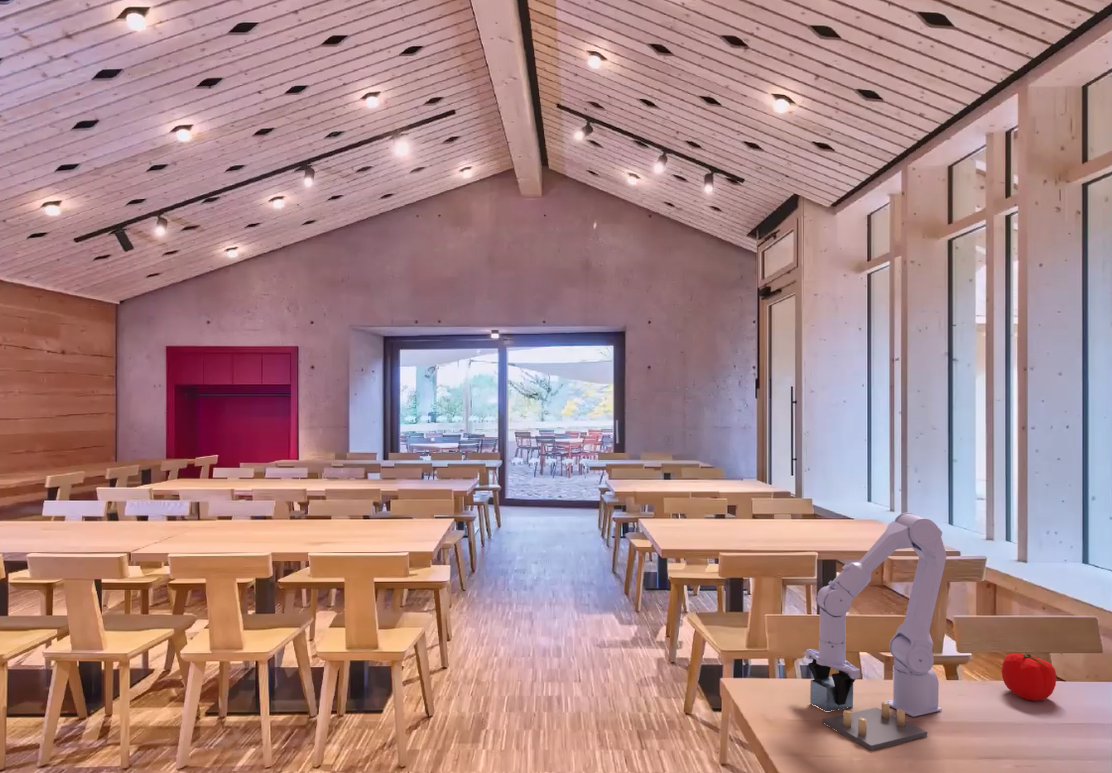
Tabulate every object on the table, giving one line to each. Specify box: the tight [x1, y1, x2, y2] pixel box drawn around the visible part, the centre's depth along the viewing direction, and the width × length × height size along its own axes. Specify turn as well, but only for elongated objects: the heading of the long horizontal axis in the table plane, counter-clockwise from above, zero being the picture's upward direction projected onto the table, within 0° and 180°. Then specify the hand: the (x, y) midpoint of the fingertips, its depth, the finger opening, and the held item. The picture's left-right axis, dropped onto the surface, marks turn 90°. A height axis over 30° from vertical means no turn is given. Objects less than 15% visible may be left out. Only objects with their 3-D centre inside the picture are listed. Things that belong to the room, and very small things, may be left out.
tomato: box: [1001, 651, 1057, 702], centre depth 175 cm, size 11×13×10 cm
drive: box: [809, 675, 854, 711], centre depth 168 cm, size 8×5×6 cm, turn 114°
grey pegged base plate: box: [822, 701, 928, 751], centre depth 156 cm, size 16×13×4 cm
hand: (831, 699), depth 168 cm, fingers closed on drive, 5 cm apart
